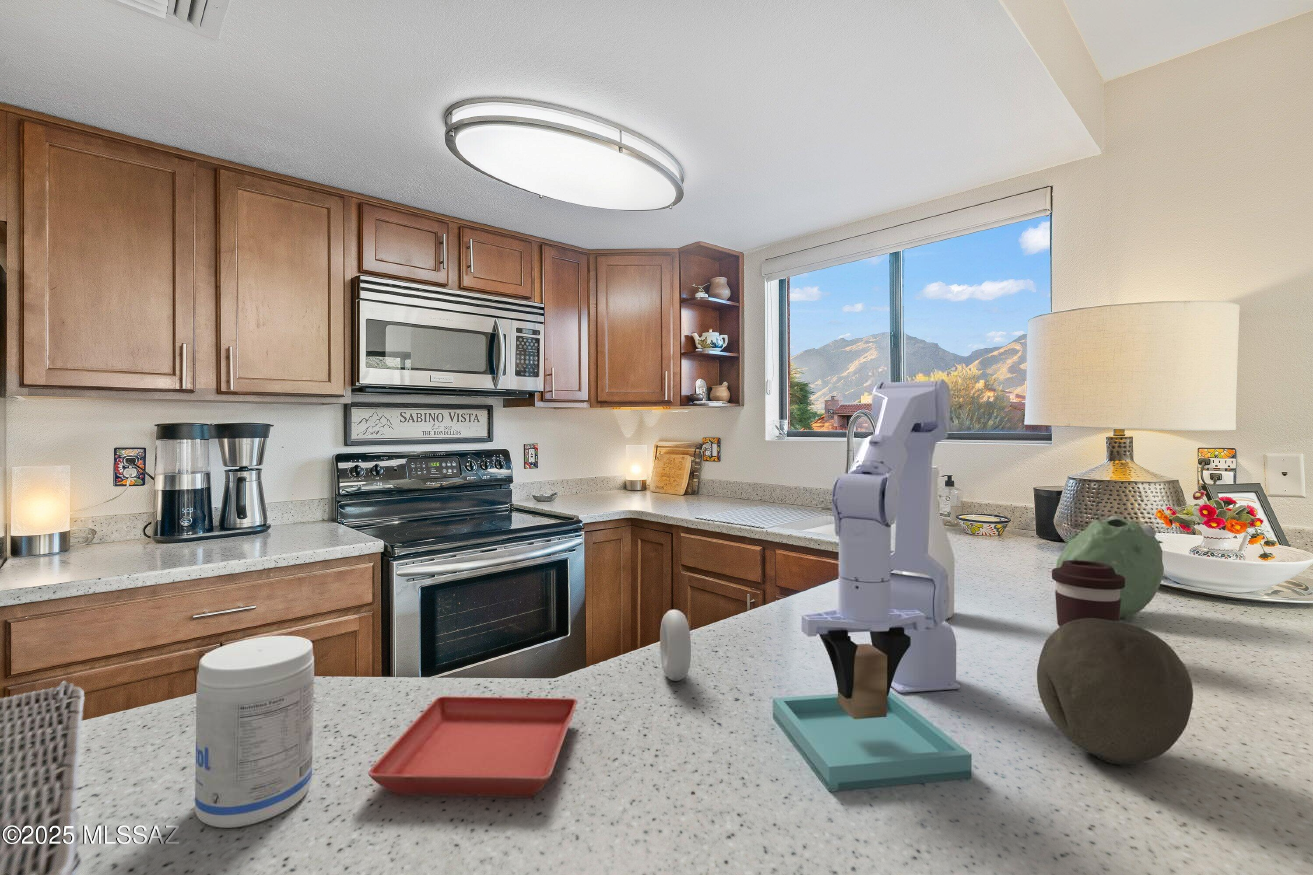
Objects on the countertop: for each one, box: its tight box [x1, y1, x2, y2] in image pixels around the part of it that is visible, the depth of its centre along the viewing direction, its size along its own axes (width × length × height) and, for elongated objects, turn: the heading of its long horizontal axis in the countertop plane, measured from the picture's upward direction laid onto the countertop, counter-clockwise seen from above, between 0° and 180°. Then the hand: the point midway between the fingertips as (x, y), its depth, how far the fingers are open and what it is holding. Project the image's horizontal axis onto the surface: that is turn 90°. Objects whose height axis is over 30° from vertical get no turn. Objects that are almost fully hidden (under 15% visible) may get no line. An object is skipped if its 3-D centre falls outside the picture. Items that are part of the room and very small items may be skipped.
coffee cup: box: [1051, 560, 1125, 628], centre depth 100 cm, size 10×10×15 cm
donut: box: [659, 609, 692, 682], centre depth 89 cm, size 10×4×10 cm, turn 9°
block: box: [837, 643, 887, 719], centre depth 70 cm, size 4×4×7 cm
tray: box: [772, 691, 973, 792], centre depth 70 cm, size 16×16×2 cm
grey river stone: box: [1036, 618, 1194, 766], centre depth 68 cm, size 14×14×15 cm
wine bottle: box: [902, 465, 956, 620], centre depth 121 cm, size 10×10×30 cm
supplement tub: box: [194, 635, 315, 829], centre depth 58 cm, size 10×10×15 cm
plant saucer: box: [367, 695, 579, 798], centre depth 67 cm, size 18×18×3 cm
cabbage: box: [1055, 515, 1165, 618], centre depth 121 cm, size 16×19×20 cm
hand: (863, 693), depth 70 cm, fingers closed on block, 4 cm apart
